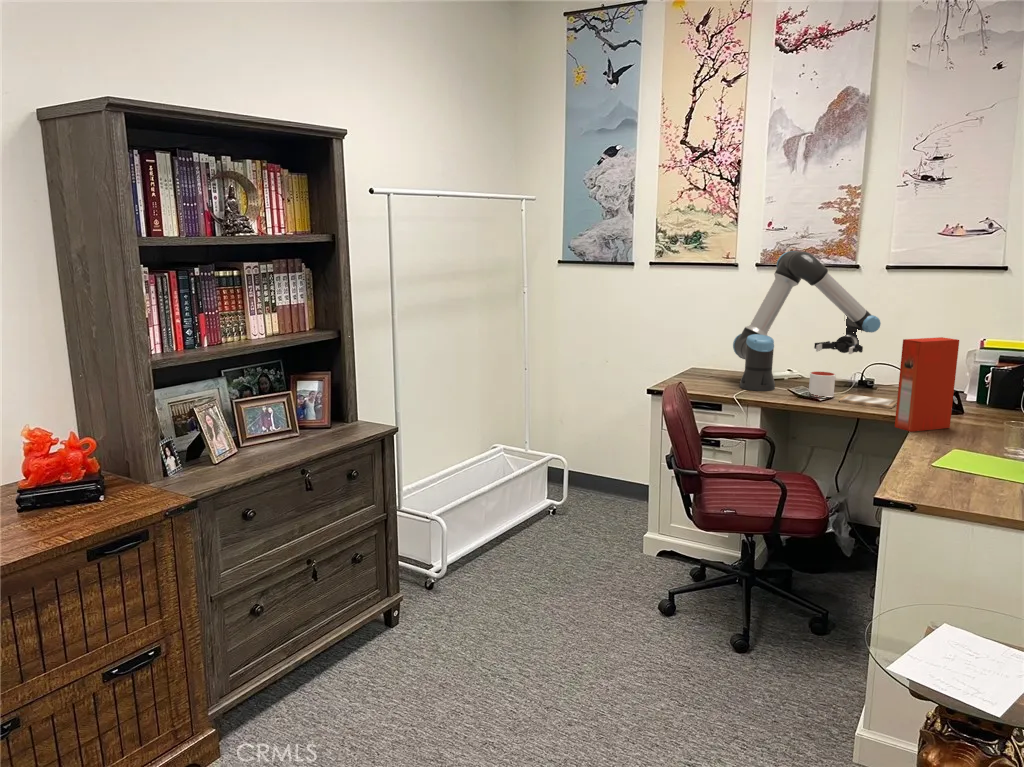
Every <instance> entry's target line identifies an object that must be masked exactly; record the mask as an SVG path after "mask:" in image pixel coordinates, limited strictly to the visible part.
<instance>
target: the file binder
mask: <svg viewBox="0 0 1024 767" xmlns="http://www.w3.org/2000/svg"><path fill="white" fill-rule="evenodd" d="M959 347H960V339H957V338H956V339H955V338H950V337H944V336H943V337H942V336H941V337H939V336H938V337H922V338H905V339H904V338H903V339H902V347H901V356H900V357H901V359H900V366H899V367H900V368H899V377H898V390H897V397H896V398H897V399H896V400H897V405H896V408H895V409H896V410H895V421H894V428H897V429H900V430H904V431H908V432H910V433H912V432H913V433H914V432H920V431H921V432H922V431H931V430H932V431H933V430H942V429H944V430H945V429H950V428H951V419H952V410H953V403H954V402H953V401H954V393H955V383H956V376H957V374H956V373H957V365H958V357H959V349H960V348H959Z"/></svg>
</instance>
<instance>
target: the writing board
mask: <svg viewBox="0 0 1024 767" xmlns="http://www.w3.org/2000/svg"><path fill="white" fill-rule="evenodd" d="M838 401H840V402H839V403H841V402H845V403H844V404H849V403H851V404H850V405H857V404H858V405H859V406H865V405H866V407H872V406H873V407H874V408H880V407H883V408H882V409H888V408H892V407H893V408H894V407H895V406H897V405H896V404H897V399H896V400H895V399H890V398H882V397H873V396H864V395H857V394H849V393H848V394H846V395H844V396H843V397H841V398H839V399H838ZM893 408H892V409H893Z"/></svg>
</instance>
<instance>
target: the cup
mask: <svg viewBox="0 0 1024 767" xmlns="http://www.w3.org/2000/svg"><path fill="white" fill-rule="evenodd" d="M808 383H809V384H808V393H809V392H810V393H811V394H814V395H818V396H833V397H834V396H835V385H836V384H835V383H836V374H835V373H834V372H829V371H811V372H810V373H809V382H808Z"/></svg>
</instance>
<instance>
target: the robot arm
mask: <svg viewBox="0 0 1024 767" xmlns="http://www.w3.org/2000/svg"><path fill="white" fill-rule="evenodd" d="M773 274H774V281H773V282H772V284H771V286H770V288H769V289H768V292H767V293H766V295H765V297H764V299H763V300H762V302H761V304H760V306H759V308H758V310H757V312H756V313H755V315H754V317H753V319H752V321H751V322H750V324H748V325H747V326H744V329H743V330H742V332H741V333H739V334H738V335H736V336H735V338H734V340H733V343H732V348H733V352H734V354H735V355H737V357H738V358H740V359H742V360H745V361H744V362H745V364H744V372H743V374H742V376H741V379H740V381H739V388H740V389H743V390H749V391H756V392H758V391H759V392H767V391H774V390H775V388H776V382H775V378H774V375H773V365H774V364H773V362H774V348H775V341H774V339H773V337H771V336H769V335H768V334H769V333H768V332H769V331H770V329H771V328H772V327H771V326H772V325H773V323H774V322H775V320H776V318H777V316H778V315H779V312H780V311H781V309H782V307H783V305H784V304H785V303H786V300H787V298H788V296H789V294H790V292H791V291H792V289H793V287H796V286H798V285H799V284H800V283H801V280H803V281H805V282H807V283H808V284H809V285H810V286H814V287H815V288H816V289H818V290H819V292H821V293H822V294H823V296H824V297H826V298H827V299H828V300H829V301H830V302H832V304H833V305H834V306H836V307H837V308H838V309H839V310H840V311H841V312H842V313H843V314H844V316H845V315H846V316H847V319H846V326H847V328H846V335H845V336H843V335H842V336H841V337H840V336H839V337H838V338H837V339H836V341H832V342H831V341H830V340H827V341H822V342H814V347H813V349H815V352H816V353H817V352H820V351H822V350H827V349H828V350H830V349H831V350H833V351H835V350H837V351H838V352H839V353H842V354H846V353H848V355H852V354H854V353H858V352H859V353H863V352H864V350H863V349H864V347H863V345H862V344H861V345H859V340H858V338H857V335H856V332H857V329H858V330H861V332H865V333H876V332H877V331H878V330H879V329H880V328H881V324H882V323H881V319H880V318H879V317H878V316H876V315H873V314H871V313H870V312H869V311H868V310H867V308H865V307H864V306H863V305H862V304H861V303H860V302H859V301H857V299H855V298H854V297H853V296H852V295H851V294H850V293H849V291H847V290H846V288H844V286H842V284H840V283H839V282H838V281H837V280H836V279H835V278H834V277H833V276H831V274H829V269H828V268H827V267H826V266H825V264H823V263H822V262H821V261H820V260H819V259H818V258H816V256H814V255H813V254H811V253H809V252H807V251H798V250H789V251H786V252H784V253H783V254H781V255H780V256H779V258H778V259H777V262H776V270H775V271H774V273H773ZM853 332H854V333H853Z"/></svg>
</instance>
